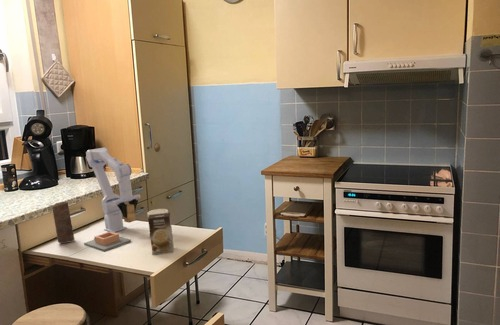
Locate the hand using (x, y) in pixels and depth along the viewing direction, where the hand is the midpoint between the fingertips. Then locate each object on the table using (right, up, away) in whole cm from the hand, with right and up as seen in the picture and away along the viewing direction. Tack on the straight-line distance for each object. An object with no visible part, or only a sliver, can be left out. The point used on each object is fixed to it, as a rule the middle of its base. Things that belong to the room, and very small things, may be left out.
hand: (129, 216), depth 204 cm
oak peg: (0, -3, 0) cm, 3 cm away
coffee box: (+22, -12, -27) cm, 37 cm away
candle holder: (+17, -9, -5) cm, 19 cm away
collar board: (-7, -12, -9) cm, 17 cm away
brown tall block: (-30, -13, -2) cm, 33 cm away
